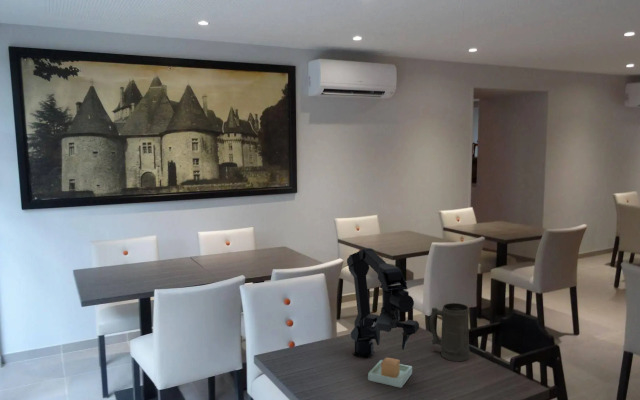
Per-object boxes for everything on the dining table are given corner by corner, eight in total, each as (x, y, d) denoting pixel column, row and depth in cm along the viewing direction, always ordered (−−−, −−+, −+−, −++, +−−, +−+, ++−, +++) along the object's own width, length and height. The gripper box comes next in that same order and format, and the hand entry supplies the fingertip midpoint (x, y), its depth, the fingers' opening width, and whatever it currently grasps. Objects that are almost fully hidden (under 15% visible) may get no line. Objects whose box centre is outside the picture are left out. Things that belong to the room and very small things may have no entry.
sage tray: (368, 380, 166) (368, 373, 166) (380, 366, 176) (380, 360, 176) (401, 387, 160) (401, 380, 160) (412, 373, 171) (412, 366, 171)
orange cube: (381, 376, 167) (381, 362, 167) (386, 370, 172) (386, 357, 171) (394, 379, 165) (394, 365, 164) (399, 373, 169) (399, 359, 169)
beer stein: (472, 352, 188) (469, 302, 187) (471, 363, 178) (468, 310, 177) (432, 349, 193) (429, 301, 192) (429, 360, 183) (426, 309, 182)
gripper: (356, 306, 163) (356, 350, 165) (409, 314, 154) (409, 361, 156) (369, 297, 173) (369, 339, 174) (419, 304, 164) (419, 348, 166)
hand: (390, 347), depth 167 cm, fingers open, 9 cm apart
